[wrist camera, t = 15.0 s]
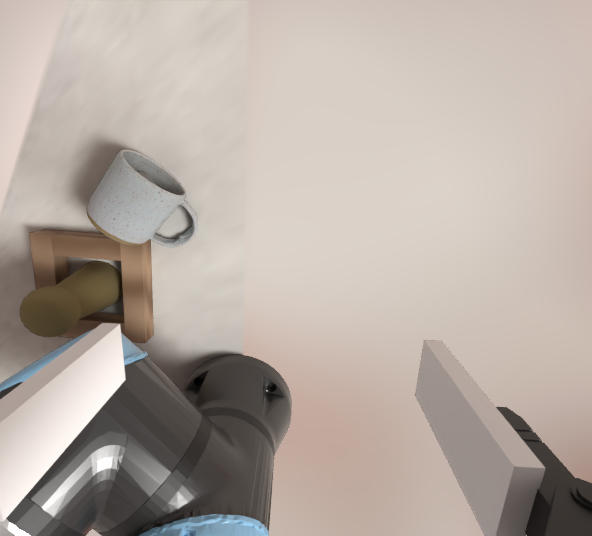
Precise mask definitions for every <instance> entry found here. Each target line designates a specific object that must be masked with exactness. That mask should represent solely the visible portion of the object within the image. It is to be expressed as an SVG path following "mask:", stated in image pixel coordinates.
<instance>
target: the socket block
mask: <svg viewBox="0 0 592 536" xmlns="http://www.w3.org/2000/svg"><path fill="white" fill-rule="evenodd" d="M29 236H30V245H31V253H32V261H33V269H34V277H35V285H36V290H37V289H39V288H42V287H47V286H56V285H57V284H59V283H60V282H61V281H63V280H64V279H66V278H67V277H69V269H68V258H67V257H79V258H92V259H105V260H117V261H121V268H122V287H123V305H124V315H121V314H108V313H95V312H94V313H92V314H90V315H87V316H85V317H83V318H80V319H79V320H78V322H77V324H76V325H75V326H74V327H73V328H72V329H71V330H70V331H68V332H67V333H65V334H62V335H59V336H57V337H70V338H77V337H78V336H80V335H82V334H84V333H86V332H88V331H90V330H93V329H95V328H97V327H98V326H99V325H101V324H102V323H113V324H120V327H121V333H122V334H123V335H124V336H126V337H127V338H128V339H129V340H130V341H131V342H136V343H146V342H147V341H148V340H149V339H150V338H151V337H152V336H153V335H154V332H153V300H152V268H151V239H149V240H147V241H146V242H145V243H143V244H141V245H127V244H123V243H120V242H117V241H115V240H113V239H111V238H109V237H107V236H106V235H104V234H96V233H83V232H70V231H57V230H45V229H44V230H40V231H35V232H30V233H29Z"/></svg>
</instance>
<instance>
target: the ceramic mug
mask: <svg viewBox="0 0 592 536" xmlns="http://www.w3.org/2000/svg"><path fill="white" fill-rule="evenodd" d="M185 197H186V192H185V190H184V188H183V187H182V185H181V184H180V182H179V181H178V180H177V179H175V178H174V177H173V176H172V174H171V173H169V172H168V171H167V170H166V169H164V168H163V167H162V166H160V165H159V164H158V163H156V162H154V161H153V160H151V159H150V158H148V157H146V156H144V155H143V154H140V153H137V152H135V151H132V150H128V149H123V150H120V151H119V152H118V154H117V155H116V157H115V159H114V160H113V162H112V164H111V165H110V167H109V169H108V170H107V172H106V173H105V175H104V177H103V178H102V180H101V182H100V183H99V185H98V187H97V188H96V190H95V191H94V193H93V195H92V196H91V198H90V200H89V203H88V206H87V215H88V218H89V219H90V221H91V223H92V224H93V225H94V226H95V227H96V228H97V229H98V230H99V231H100V232H101V233H103V234H104V235H106V236H107V237H109V238H111V239H113V240H115V241H117V242H120V243H123V244H127V245H141V244H143V243H145V242H146V241H147V240H149V239H151V240H153V241H154V242H156V243H157V244H160V245H162V246H167V247H177V246H181V245H183V244H185V243H187V242H188V241H190V240H191V239H192V238H193V237H194V235H195V234H196V232H197V228H198V221H197V216H196V213H195V211H194V210H193V208H192V207H191V206H190V205H189V203H188V202H187V201H185V200H184V198H185ZM179 205H182V206H183V207H184V208H186V210H187V211H188V212H189V214H190V215H191V217H192V219H193V225H192V227H190V228H189V230H188V231H187V232H186V233H184V234H183V235H180V236H179V239H167V238H163V237H161V236H158V235H156V234H155V233H156V232H157V231H158V229H159V228H160V227H161V225H162V224H163V223H164V222H165V221H166V219H167V218H168V217H169V216H170V215H171V214H172V213H173V212H174V210H175V209H176V208H177V207H178V206H179Z"/></svg>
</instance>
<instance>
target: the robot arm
mask: <svg viewBox="0 0 592 536" xmlns="http://www.w3.org/2000/svg"><path fill="white" fill-rule="evenodd" d="M147 356H148V353H147V352H146V351H141V350H140V349H139V348H138V347H137V346H136V345H135V344H133V343H132V342H131V341H130V340H129V339H128V338H127V337H126V336H124V335H123V334H122V333H121V327H120V324H113V323H102V324H101V325H99V326H98V327H97V328H95V329H93V330H90V331H88V332H86V333H84V334H82V335H80V336H78V337H77V338H75V339H73V340H71V341H69V342H68V343H66V344H64V345H62V346H61V347H59V348H57V349H56V350H54V351H52V352H50V353H49V354H47V355H45V356H44V357H42V358H40V359H39V360H37V361H36V362H34V363H32V364H31V365H29V366H27V367H26V368H24V369H23V370H21V371H19V372H18V373H16V374H15V375H13V376H11V377H10V378H8V379H7V380H5V381H4V382H2V383H1V384H0V536H85V535H86V534H87V533H88V532H89V531H90V530H92V529H94V530H95V531H97V532H98V533H99V534H100V535H102V536H269V521H270V506H271V494H272V479H273V466H274V455H275V453H276V451H277V449H278V448H279V446H280V444H281V442H282V440H283V438H284V437H285V435H286V433H287V430H288V428H289V425H290V420H291V407H292V402H291V396H290V391H289V388H288V386H287V384H286V382H285V381H284V379H283V378H282V377H281V375H280V374H279V373H278V372H277V371H276V370H275V369H274V368H272V367H271V366H269V365H268V364H266V363H265V362H263V361H261V360H258V359H256V358H253V357H249V356H244V355H225V356H220V357H217V358H214V359H211V360H209V361H207V362H205V363H204V364H202V365H201V366H200V367H198V368H197V369H196V370H195V371H194V372H193V374H192V375H191V376H190V378H189V380H188V381H187V383H186V385H185V387H184V389H183V391H181V390H180V389H179V388H178V387H177V386H176V385H175V384H174V383H173V382H172V381H171V380H170V379H169V378H168V377H167V376H166V375H165V374H164V373H163V372H162V371H161V370H160V369H159V368H158V367H157V366H156V365H155V364H154V363H153V362H152V361H151V360H150V359H149V358H148V357H147ZM415 396H416V398H417V400H418V402H419V404H420V406H421V408H422V410H423V412H424V414H425V416H426V418H427V420H428V422H429V424H430V426H431V428H432V430H433V432H434V434H435V436H436V439H437V441H438V443H439V445H440V446H441V449H442V451H443V453H444V455H445V457H446V459H447V461H448V463H449V465H450V467H451V468H452V471H453V473H454V475H455V477H456V479H457V481H458V482H459V485H460V487H461V489H462V491H463V493H464V495H465V497H466V499H467V501H468V503H469V505H470V507H471V509H472V511H473V513H474V515H475V517H476V519H477V521H478V523H479V525H480V527H481V529H482V531H483V533H484V535H485V536H526V535H527V536H592V483H589V482H587V481H584V480H581V479H579V478H574V476H573V475H572V474H571V473H570V472H569V471H568V470H567V468H566V467H565V466H564V465H563V464H562V463H561V462H560V461H559V459H558V458H557V457H556V456H555V455H554V454H553V453H552V451H551V450H550V449H549V448H548V447H547V446H546V445H545V444H544V443H542V441H541V439H540V438H539V437H538V436H537V435H536V433H533V430H532V429H531V428H530V427H529V425H528V424H527V423H526V422H525V421H524V420H523V419H522V418H521V417H520V416H518V415H517V414H515V413H514V412H513V411H511V410H510V409H508V408H507V407H495V405H494V404H493V403H492V402H491V401H490V399H489V398H488V397H487V396H486V394H485V393H484V392H483V391H482V390H481V388H480V387H479V386H478V385H477V384H476V382H475V381H474V380H473V378H472V377H471V376H470V375H469V374H468V373H467V371H466V370H465V369H464V367H463V366H462V365H461V364H460V363H459V361H458V360H457V359H456V358H455V356H454V355H453V354H452V353H451V351H450V350H449V349H448V348H447V346H446V345H445V344H444V343H443V342H442V341H436V340H424V343H423V349H422V356H421V362H420V368H419V374H418V381H417V387H416V393H415Z"/></svg>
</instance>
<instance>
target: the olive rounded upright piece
mask: <svg viewBox="0 0 592 536" xmlns="http://www.w3.org/2000/svg"><path fill="white" fill-rule="evenodd" d="M122 296H123V287H122V275H121V273H120V272H119V271H118V270H117V269H116V268H115V267H114V266H112V265H110V264H109V263H106V262H102V261H93V262H91V263H88V264H86V265H85V266H83V267H82V268H80V269H79V270H77V271H76V272H74V273H73V274H72V275H70V276H69V277H67V278H66V279H64V280H63V281H61V282H60V283H59V284H57V285H56V286H47V287H42V288H39V289H37V290H34V291H32V292H31V293H30V294H29V295H28V296H27V297H25V298H24V300H23V302H22V304H21V307H20V317H21V321H22V322H23V324H24V325H25V327H26V328H27V329H28V330H29V331H30V332H32V333H34V334H36V335H39V336H43V337H56V336H59V335H62V334H65V333H67V332H68V331H70V330H71V329H72V328H73V327H74V326H75V325H76V324H77V322H78V320H79V319H80V318H83V317H85V316H87V315H90V314H92V313H94V312H97V311H99V310H102V309H104V308H106V307H109V306H111V305H113V304H116V303H117V302H118V301H119V300H121V298H122Z"/></svg>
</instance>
